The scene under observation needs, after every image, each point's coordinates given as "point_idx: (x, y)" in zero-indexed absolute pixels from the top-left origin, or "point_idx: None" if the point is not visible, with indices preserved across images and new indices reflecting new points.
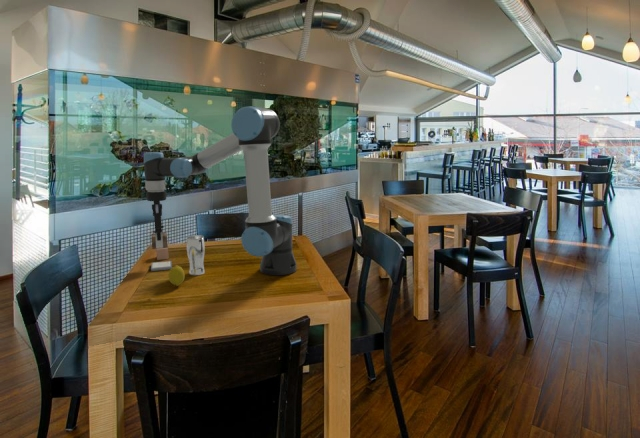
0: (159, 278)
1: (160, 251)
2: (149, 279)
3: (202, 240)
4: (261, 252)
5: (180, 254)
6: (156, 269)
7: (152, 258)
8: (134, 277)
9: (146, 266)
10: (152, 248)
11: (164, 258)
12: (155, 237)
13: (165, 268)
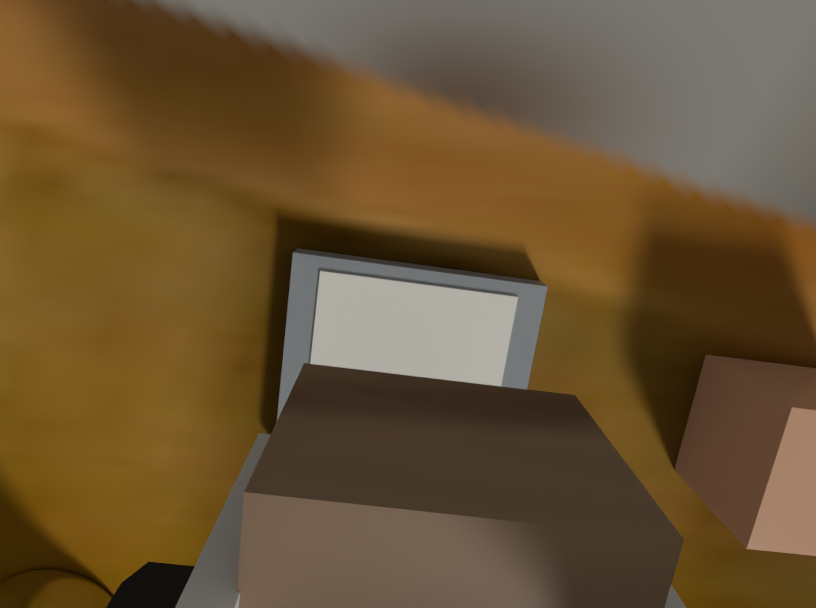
0: (4, 297)
1: (753, 442)
2: (3, 197)
3: None
4: None
5: (774, 591)
6: (288, 307)
7: (801, 318)
8: (138, 46)
9: (514, 221)
10: (301, 372)
11: (691, 434)
12: (189, 584)
13: (280, 396)
